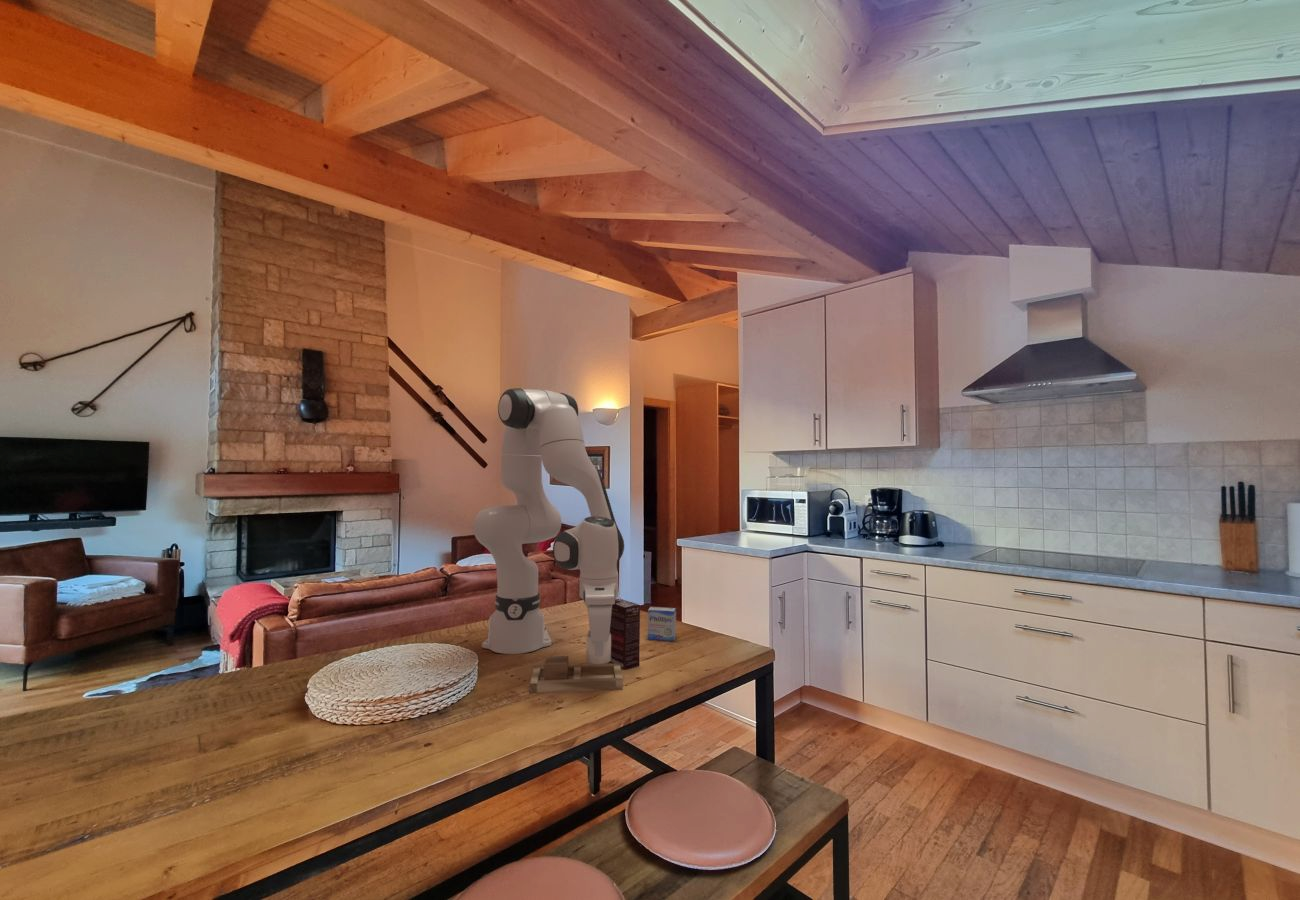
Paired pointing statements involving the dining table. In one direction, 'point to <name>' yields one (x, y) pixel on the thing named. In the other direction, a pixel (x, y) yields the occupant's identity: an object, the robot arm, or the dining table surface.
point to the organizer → (579, 679)
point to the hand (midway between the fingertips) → (598, 650)
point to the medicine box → (661, 624)
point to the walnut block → (556, 668)
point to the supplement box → (625, 634)
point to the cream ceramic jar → (591, 651)
